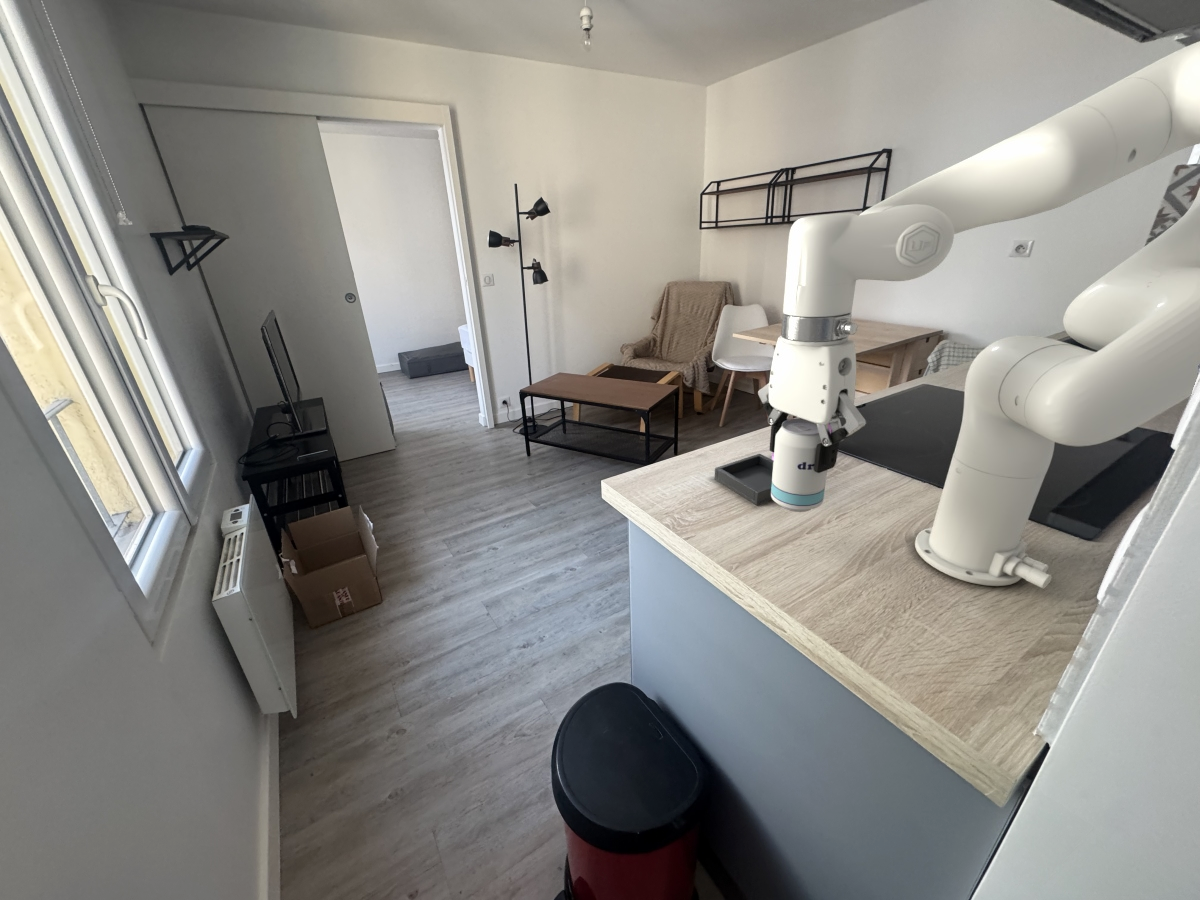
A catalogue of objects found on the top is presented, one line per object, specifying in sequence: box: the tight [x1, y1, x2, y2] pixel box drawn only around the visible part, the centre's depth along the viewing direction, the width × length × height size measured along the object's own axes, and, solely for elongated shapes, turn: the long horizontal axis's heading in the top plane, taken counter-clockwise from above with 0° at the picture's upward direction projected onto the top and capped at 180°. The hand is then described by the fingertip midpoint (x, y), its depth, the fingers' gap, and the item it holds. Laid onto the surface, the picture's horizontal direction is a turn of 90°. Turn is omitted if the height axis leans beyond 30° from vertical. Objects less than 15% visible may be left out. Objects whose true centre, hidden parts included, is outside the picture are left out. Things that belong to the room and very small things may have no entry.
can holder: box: [714, 453, 774, 506], centre depth 90 cm, size 12×12×3 cm
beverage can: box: [771, 417, 828, 513], centre depth 64 cm, size 7×7×12 cm
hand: (800, 458), depth 64 cm, fingers closed on beverage can, 7 cm apart
